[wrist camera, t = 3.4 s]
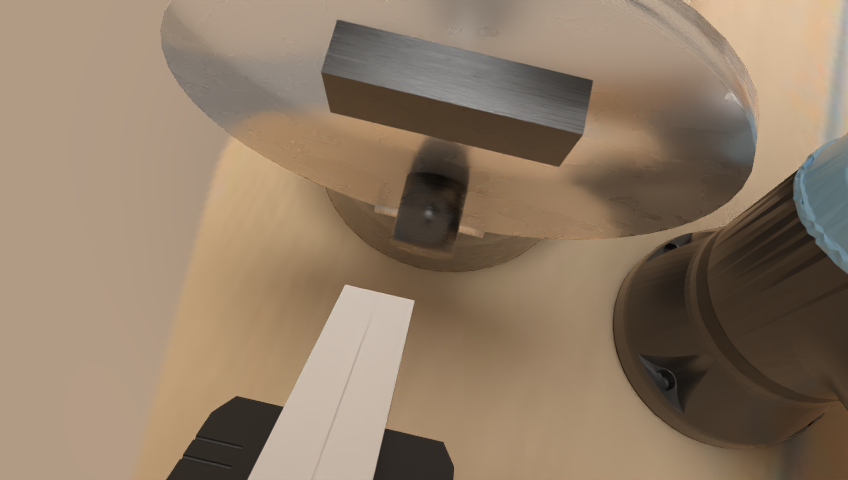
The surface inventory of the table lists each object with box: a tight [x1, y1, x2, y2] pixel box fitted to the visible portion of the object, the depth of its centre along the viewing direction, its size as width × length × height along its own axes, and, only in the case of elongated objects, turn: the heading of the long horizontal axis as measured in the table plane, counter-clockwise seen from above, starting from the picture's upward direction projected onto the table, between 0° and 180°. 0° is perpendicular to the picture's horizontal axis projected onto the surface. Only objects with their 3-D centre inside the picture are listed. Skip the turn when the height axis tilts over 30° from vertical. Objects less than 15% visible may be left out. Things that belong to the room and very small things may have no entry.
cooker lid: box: [160, 0, 759, 259], centre depth 23 cm, size 21×21×4 cm
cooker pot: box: [326, 187, 541, 272], centre depth 43 cm, size 28×20×12 cm
